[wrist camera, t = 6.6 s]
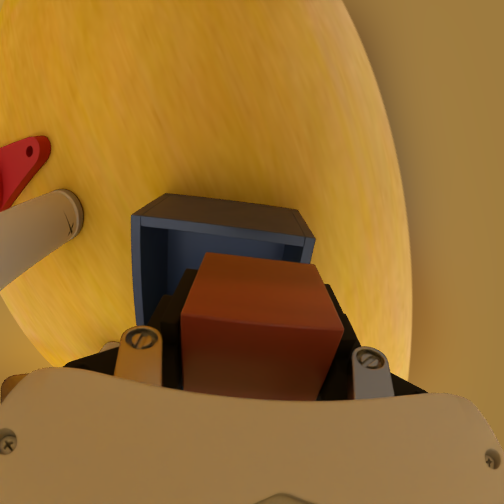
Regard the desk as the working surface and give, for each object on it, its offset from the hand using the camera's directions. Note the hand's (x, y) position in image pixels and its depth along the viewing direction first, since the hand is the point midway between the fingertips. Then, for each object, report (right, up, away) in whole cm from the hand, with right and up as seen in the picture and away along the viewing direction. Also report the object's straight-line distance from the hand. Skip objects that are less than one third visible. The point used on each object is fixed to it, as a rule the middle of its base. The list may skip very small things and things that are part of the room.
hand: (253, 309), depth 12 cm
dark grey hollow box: (-3, +1, +19) cm, 19 cm away
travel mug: (-22, +7, +16) cm, 29 cm away
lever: (-33, +13, +14) cm, 38 cm away
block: (0, 0, 0) cm, 0 cm away
